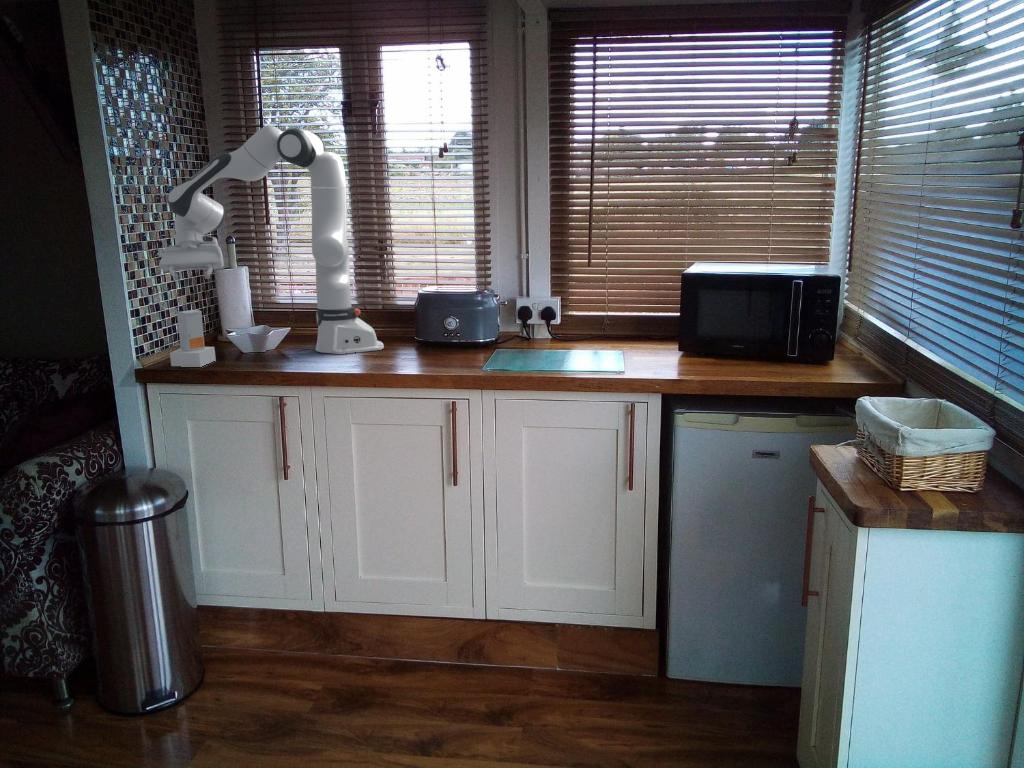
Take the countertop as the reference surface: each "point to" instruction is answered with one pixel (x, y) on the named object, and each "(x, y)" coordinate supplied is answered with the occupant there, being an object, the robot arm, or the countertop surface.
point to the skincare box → (190, 330)
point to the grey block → (192, 357)
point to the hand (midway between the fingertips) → (191, 278)
